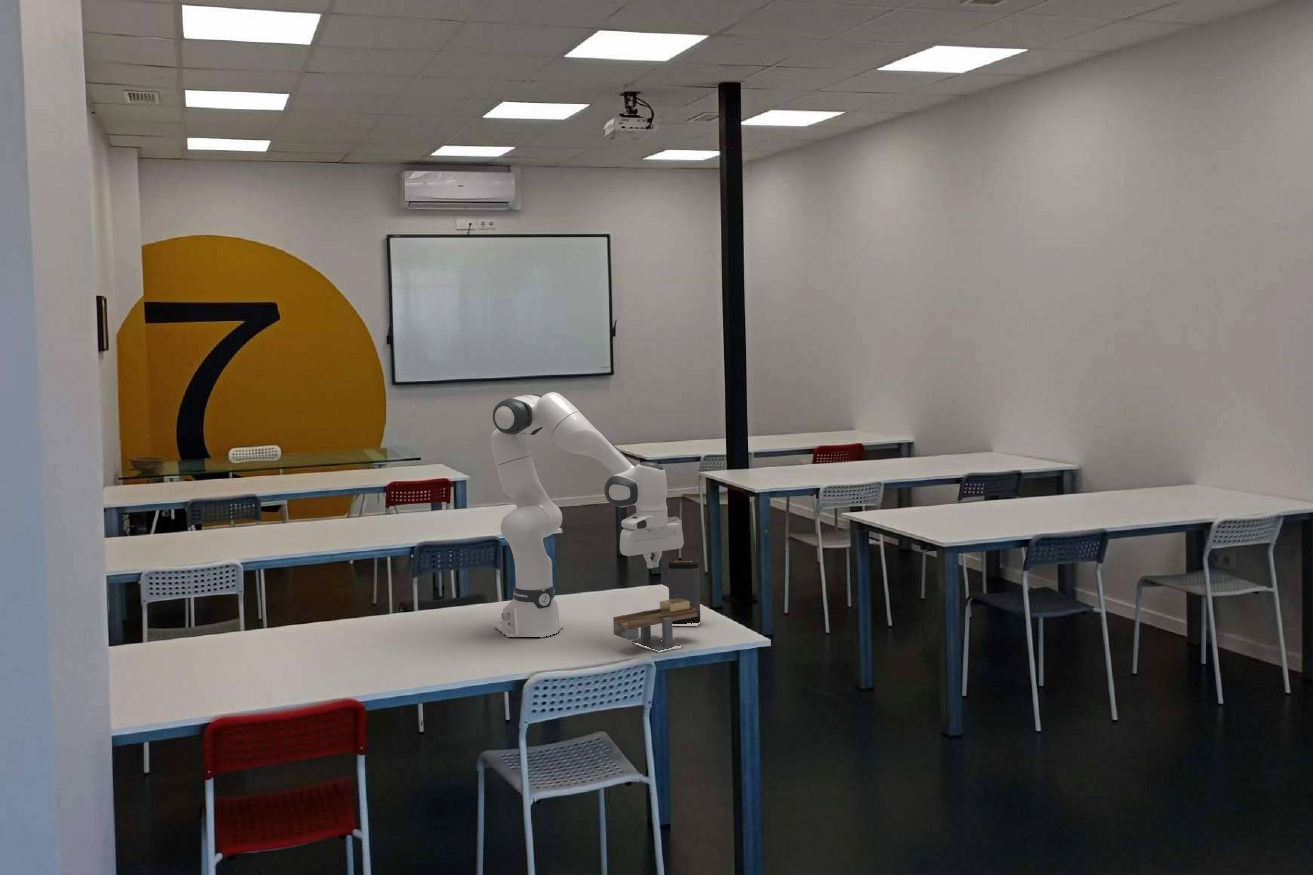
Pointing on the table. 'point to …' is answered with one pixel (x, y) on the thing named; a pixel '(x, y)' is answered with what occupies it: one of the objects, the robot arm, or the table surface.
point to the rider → (674, 606)
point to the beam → (645, 621)
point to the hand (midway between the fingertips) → (652, 567)
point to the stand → (656, 641)
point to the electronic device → (685, 585)
